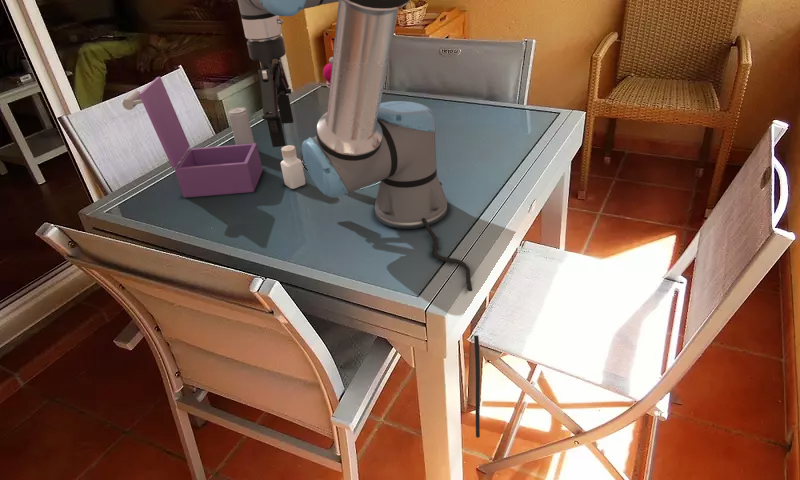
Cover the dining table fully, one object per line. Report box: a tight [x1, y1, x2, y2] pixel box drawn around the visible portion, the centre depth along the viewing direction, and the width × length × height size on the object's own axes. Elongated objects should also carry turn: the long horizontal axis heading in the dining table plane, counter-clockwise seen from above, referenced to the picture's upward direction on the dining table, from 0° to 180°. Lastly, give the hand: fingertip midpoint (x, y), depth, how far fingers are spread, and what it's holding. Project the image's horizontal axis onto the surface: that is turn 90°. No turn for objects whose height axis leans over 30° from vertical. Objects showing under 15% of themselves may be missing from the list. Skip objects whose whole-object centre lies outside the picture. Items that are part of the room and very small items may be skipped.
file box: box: [174, 142, 264, 198], centre depth 139 cm, size 17×12×7 cm
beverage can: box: [227, 106, 255, 145], centre depth 153 cm, size 5×5×12 cm
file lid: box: [121, 76, 191, 169], centre depth 132 cm, size 18×12×7 cm
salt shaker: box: [280, 144, 307, 190], centre depth 134 cm, size 4×4×10 cm
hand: (283, 134), depth 130 cm, fingers open, 13 cm apart
